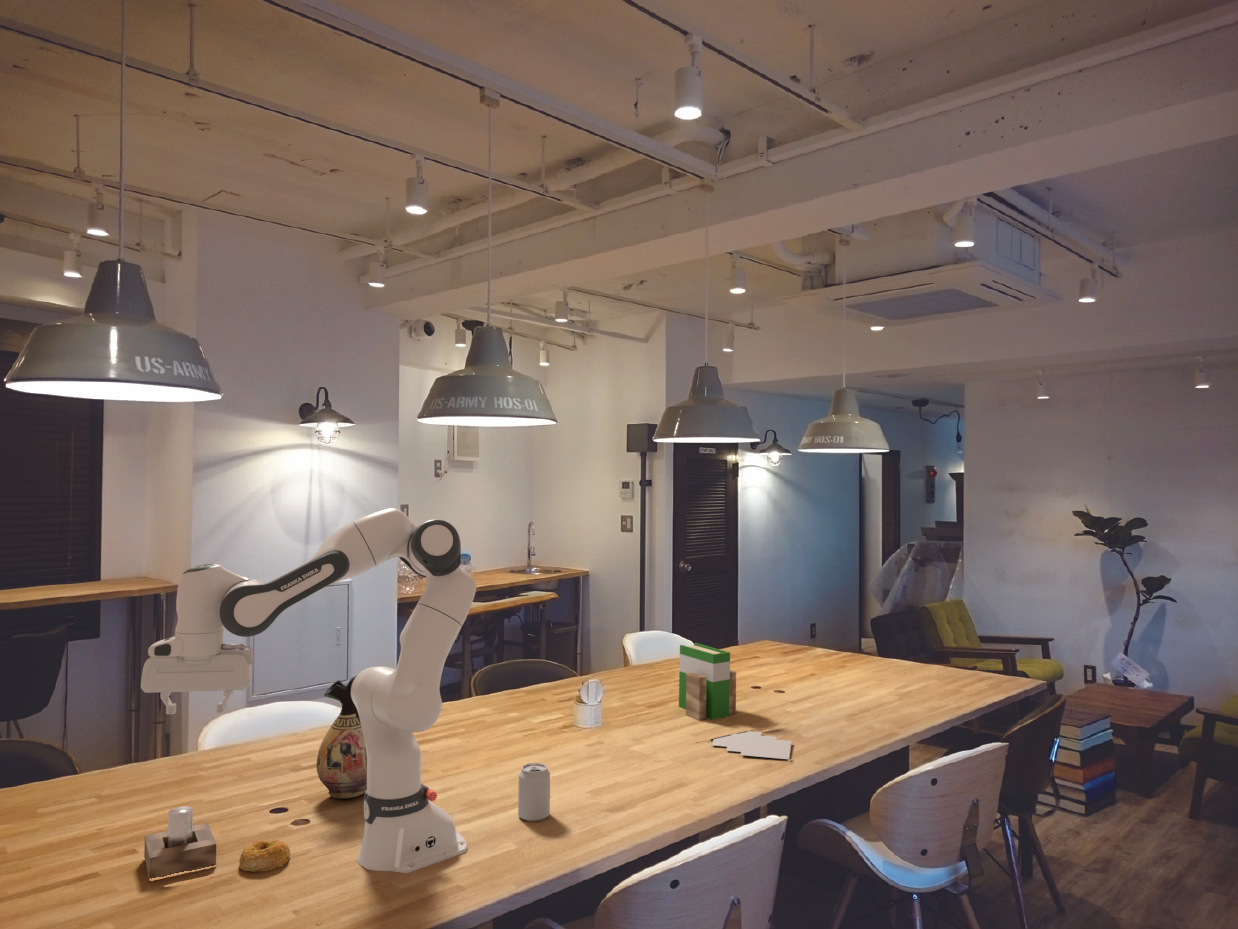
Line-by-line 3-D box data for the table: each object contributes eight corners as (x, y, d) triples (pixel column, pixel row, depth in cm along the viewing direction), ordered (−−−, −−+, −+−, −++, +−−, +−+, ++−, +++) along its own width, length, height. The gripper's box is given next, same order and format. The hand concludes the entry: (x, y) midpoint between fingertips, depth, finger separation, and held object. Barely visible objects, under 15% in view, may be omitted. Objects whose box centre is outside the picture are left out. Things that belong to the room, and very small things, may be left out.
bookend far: (722, 708, 293) (722, 667, 293) (735, 713, 287) (736, 671, 287) (715, 709, 291) (716, 668, 291) (729, 714, 285) (729, 673, 285)
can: (520, 825, 195) (521, 773, 195) (515, 812, 203) (516, 762, 203) (552, 822, 197) (553, 770, 197) (546, 809, 205) (547, 760, 205)
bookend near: (692, 713, 286) (693, 672, 286) (706, 719, 280) (706, 676, 280) (685, 715, 284) (686, 673, 284) (699, 720, 278) (699, 678, 278)
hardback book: (678, 714, 294) (679, 645, 294) (694, 711, 298) (696, 643, 298) (712, 727, 280) (713, 654, 280) (728, 723, 284) (730, 652, 284)
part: (190, 852, 178) (191, 804, 178) (193, 860, 174) (194, 812, 174) (166, 857, 175) (167, 809, 175) (168, 866, 172) (169, 817, 172)
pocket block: (207, 846, 183) (207, 823, 183) (216, 868, 173) (216, 843, 173) (144, 859, 176) (144, 835, 176) (149, 883, 166) (149, 858, 166)
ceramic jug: (313, 807, 204) (315, 683, 204) (318, 784, 219) (320, 668, 219) (386, 800, 209) (387, 679, 209) (386, 778, 224) (387, 665, 224)
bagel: (298, 852, 181) (298, 830, 181) (279, 877, 170) (279, 853, 170) (251, 852, 181) (251, 830, 181) (229, 877, 170) (229, 854, 170)
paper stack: (707, 754, 246) (707, 752, 246) (718, 728, 271) (718, 726, 271) (789, 761, 241) (789, 759, 241) (792, 734, 265) (792, 732, 265)
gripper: (256, 640, 177) (254, 706, 177) (149, 642, 172) (146, 710, 172) (250, 646, 171) (248, 715, 171) (139, 648, 166) (136, 718, 166)
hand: (196, 712), depth 171 cm, fingers open, 8 cm apart
